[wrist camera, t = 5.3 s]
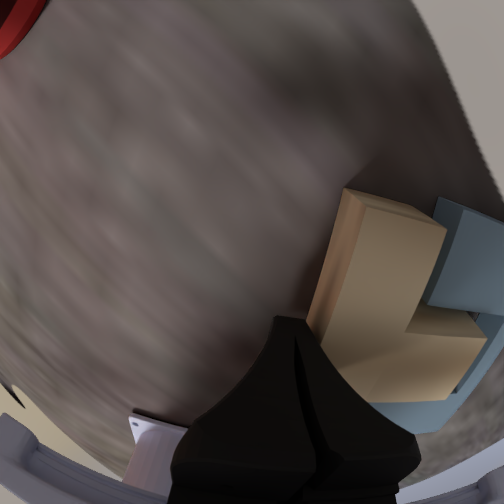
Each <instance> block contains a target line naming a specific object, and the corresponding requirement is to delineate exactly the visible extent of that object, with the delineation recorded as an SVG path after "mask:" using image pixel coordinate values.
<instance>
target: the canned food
mask: <svg viewBox="0 0 504 504" xmlns="http://www.w3.org/2000/svg"><path fill="white" fill-rule="evenodd" d="M45 2H46V0H0V59H2V58H3V57H5V56H6V55H7V54H9V53H10V52H11V51H12V50H13V49H14V48H15V47H16V46H17V45H18V43H19V42H20V41H21V40H22V39H23V37H24V36H25V35H26V34H27V32H28V31H29V30H30V28H31V27H32V25H33V23H34V22H35V20H36V19H37V17H38V15H39V14H40V12H41V10H42V8H43V6H44V4H45Z"/></svg>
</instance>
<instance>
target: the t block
mask: <svg viewBox="0 0 504 504" xmlns="http://www.w3.org/2000/svg"><path fill="white" fill-rule="evenodd" d="M446 232H447V229H446V228H445V227H443V226H442V225H440V224H439V223H437V222H436V221H434V220H433V219H431V218H430V217H428V216H427V215H425V214H424V213H422V212H420V211H419V210H417V209H416V208H414V207H413V206H411V205H408V204H404V203H401V202H397V201H394V200H390V199H387V198H383V197H379V196H376V195H372V194H368V193H364V192H360V191H356V190H352V189H348V188H343V192H342V196H341V201H340V205H339V209H338V213H337V216H336V220H335V224H334V228H333V232H332V235H331V239H330V243H329V246H328V250H327V254H326V257H325V261H324V264H323V267H322V271H321V274H320V278H319V281H318V284H317V288H316V291H315V294H314V297H313V300H312V304H311V307H310V310H309V313H308V316H307V319H306V322H307V324H308V326H309V327H310V329H311V331H312V333H313V334H314V336H315V338H316V339H317V341H318V343H319V344H320V346H321V348H322V349H323V351H324V352H325V354H326V355H327V357H328V358H329V360H330V361H331V363H332V364H333V365H334V367H335V368H336V369H337V371H338V372H339V373H340V374H341V376H342V377H343V378H344V379H345V380H346V381H347V382H348V384H349V385H350V386H351V387H352V388H353V389H354V390H355V391H356V392H357V393H358V394H359V395H360V396H361V397H362V398H363V399H364V400H365V401H367V402H421V401H436V400H446V398H447V397H448V396H449V395H450V393H451V392H452V391H453V389H454V388H455V387H456V385H457V384H458V383H459V381H460V380H461V379H462V377H463V376H464V374H465V373H466V372H467V370H468V369H469V367H470V366H471V364H472V363H473V361H474V360H475V358H476V357H477V355H478V354H479V352H480V350H481V349H482V347H483V345H484V344H485V342H486V341H487V339H488V338H487V337H486V336H485V334H484V333H483V332H482V331H481V329H480V328H479V327H478V326H477V324H476V323H475V322H474V321H473V319H472V318H471V317H470V316H469V314H468V313H467V312H466V311H465V310H458V309H451V308H444V307H437V306H430V305H427V304H426V303H425V302H424V300H423V299H422V298H421V297H422V294H423V292H424V290H425V287H426V285H427V283H428V280H429V278H430V275H431V273H432V271H433V268H434V265H435V263H436V260H437V258H438V255H439V252H440V249H441V247H442V244H443V241H444V238H445V235H446Z"/></svg>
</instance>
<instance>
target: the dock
mask: <svg viewBox="0 0 504 504" xmlns="http://www.w3.org/2000/svg"><path fill="white" fill-rule="evenodd" d="M432 219H433V220H434V221H436V222H437V223H439V224H440V225H442V226H443V227H445V228H446V229H447V232H446V235H445V238H444V241H443V244H442V247H441V249H440V252H439V255H438V258H437V260H436V263H435V265H434V268H433V271H432V273H431V275H430V278H429V280H428V283H427V285H426V287H425V290H424V292H423V294H422V299H423V300H424V302H425V303H426V304H427V305H430V306H437V307H444V308H451V309H458V310H465V311H472V312H479V313H480V314H479V316H478V318H477V320H476V321H475V323H476V324H477V326H478V327H479V328H480V329H481V331H482V332H483V333H484V334H485V336H486V337H487V338H488V339H487V341H486V342H485V344H484V345H483V347H482V349H481V350H480V352H479V354H478V355H477V357H476V358H475V360H474V361H473V363H472V364H471V366H470V367H469V369H468V370H467V372H466V373H465V374H464V376H463V377H462V379H461V380H460V381H459V383H458V384H457V385H456V387H455V388H454V389H453V391H452V392H451V393H450V395H449V396H448V397H447V398H446V400H436V401H421V402H368V403H369V404H370V405H371V406H372V407H373V408H375V409H376V410H377V411H378V412H380V413H381V414H382V415H384V416H385V417H387V418H388V419H389V420H391V421H392V422H394V423H395V424H397V425H399V426H400V427H402V428H404V429H405V430H407V431H409V432H410V433H412V434H419V433H428V432H435V431H438V430H439V429H440V428H441V427H442V426H443V425H444V424H445V423H446V422H447V421H448V419H449V418H450V417H451V416H452V415H453V414H454V413H455V412H456V410H457V409H458V408H459V407H460V406H461V404H462V403H463V402H464V401H465V400H466V398H467V397H468V396H469V395H470V393H471V392H472V391H473V390H474V388H475V387H476V386H477V384H478V383H479V382H480V380H481V379H482V378H483V376H484V375H485V373H486V372H487V371H488V369H489V368H490V366H491V365H492V363H493V362H494V360H495V359H496V357H497V356H498V354H499V353H500V351H501V349H502V348H503V346H504V223H503V222H501V221H499V220H497V219H495V218H492V217H490V216H488V215H485V214H483V213H481V212H478V211H476V210H473V209H471V208H468V207H466V206H463V205H461V204H458V203H456V202H453V201H450V200H448V199H445V198H442V197H439V196H438V200H437V203H436V207H435V210H434V213H433V217H432Z"/></svg>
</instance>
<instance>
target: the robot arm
mask: <svg viewBox="0 0 504 504" xmlns="http://www.w3.org/2000/svg"><path fill="white" fill-rule="evenodd" d="M129 422H130V425H131V429H132V432H133V436H134V439H135V442H136V446H135V449H134V451H133V454H132V456H131V459H130V462H129V464H128V467H127V469H126V472H125V475H124V477H123V480H122V482H120V481H118V480H115V479H112V478H110V477H108V476H105V475H102V474H100V473H98V472H96V471H93V470H91V469H89V468H87V467H85V466H83V465H80V464H78V463H76V462H74V461H72V460H70V459H68V458H67V457H65V456H62V455H61V454H59V453H57V452H55V451H53V450H52V449H50V448H48V447H46V446H45V445H43V444H41V443H40V442H39V441H38V439H37V437H36V436H35V435H34V434H33V433H32V432H31V431H30V430H29V429H28V428H27V427H25V426H24V425H23V424H21V423H19V422H18V421H17V420H15V419H14V418H12V417H11V416H9V415H8V414H6V413H3V414H2V415H1V416H0V484H1V485H2V486H4V487H5V488H6V489H7V490H9V491H10V492H12V493H13V494H14V495H16V496H17V497H18V498H20V499H21V500H23V501H24V502H26V503H27V504H397V503H396V497H395V494H397V493H398V492H399V486H398V482H400V481H401V480H402V479H404V478H405V477H406V476H408V475H409V474H410V473H411V472H413V471H414V470H415V469H416V468H417V467H418V465H419V464H420V462H421V454H420V450H419V447H418V444H417V441H416V438H415V435H414V434H412V433H410V432H409V431H407V430H405V429H404V428H402V427H400V426H399V425H397V424H395V423H394V422H392V421H391V420H389V419H388V418H387V417H385V416H384V415H382V414H381V413H380V412H378V411H377V410H376V409H375V408H373V407H372V406H371V405H370V404H369V403H368V402H367V401H365V400H364V399H363V398H362V397H361V396H360V395H359V394H358V393H357V392H356V391H355V390H354V389H353V388H352V387H351V386H350V385H349V384H348V382H347V381H346V380H345V379H344V378H343V377H342V376H341V374H340V373H339V372H338V371H337V369H336V368H335V367H334V365H333V364H332V363H331V361H330V360H329V358H328V357H327V355H326V354H325V352H324V351H323V349H322V348H321V346H320V344H319V343H318V341H317V339H316V338H315V336H314V334H313V333H312V331H311V329H310V327H309V326H308V324H307V322H306V321H305V320H303V319H297V318H290V317H284V316H278V315H277V316H275V317H273V321H272V325H271V329H270V332H269V336H268V340H267V342H266V344H265V346H264V348H263V350H262V351H261V353H260V355H259V356H258V358H257V360H256V361H255V363H254V364H253V365H252V367H251V368H250V370H249V371H248V372H247V373H246V375H245V376H244V377H243V378H242V379H241V381H240V382H239V383H238V384H237V385H236V386H235V387H234V388H233V389H232V390H231V391H230V392H229V393H228V394H227V395H226V396H225V397H224V398H223V399H222V400H221V401H219V402H218V403H217V404H216V405H215V406H214V407H212V408H211V409H210V410H208V411H207V412H206V413H204V414H203V415H202V416H200V417H199V418H197V419H196V420H195V421H194V422H193V423H192V425H191V426H190V427H189V429H187V428H183V427H179V426H176V425H172V424H168V423H165V422H161V421H158V420H154V419H151V418H148V417H144V416H141V415H138V414H135V413H131V414H130V415H129ZM407 504H504V465H503V466H502V467H499V468H497V469H495V470H492V471H491V472H489V473H487V474H486V475H485V476H483V477H482V478H480V479H479V480H478V482H476V483H473V484H470V485H468V486H465V487H462V488H459V489H456V490H454V491H450V492H447V493H444V494H441V495H437V496H434V497H430V498H427V499H423V500H419V501H415V502H411V503H407Z"/></svg>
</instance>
